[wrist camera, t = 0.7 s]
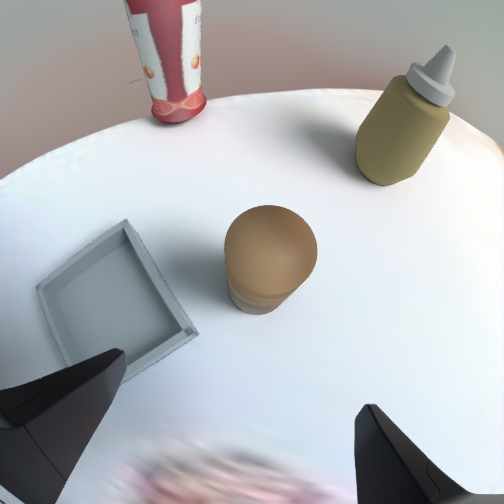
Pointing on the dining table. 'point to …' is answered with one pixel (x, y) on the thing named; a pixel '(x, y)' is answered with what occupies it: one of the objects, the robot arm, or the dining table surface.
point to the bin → (114, 304)
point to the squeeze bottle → (406, 121)
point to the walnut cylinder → (267, 257)
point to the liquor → (169, 54)
